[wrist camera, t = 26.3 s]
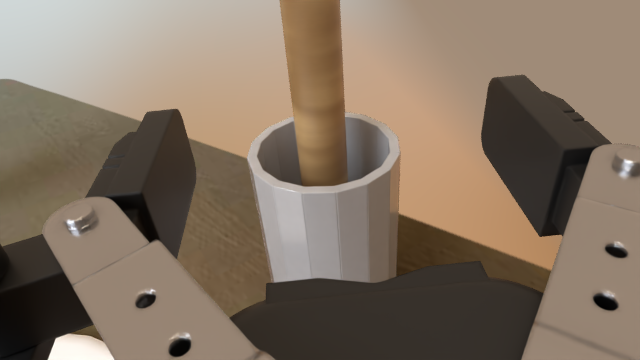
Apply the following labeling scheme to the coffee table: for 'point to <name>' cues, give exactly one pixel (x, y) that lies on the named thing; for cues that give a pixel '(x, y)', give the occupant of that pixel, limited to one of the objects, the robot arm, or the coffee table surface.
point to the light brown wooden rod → (317, 88)
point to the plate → (79, 348)
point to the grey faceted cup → (329, 206)
